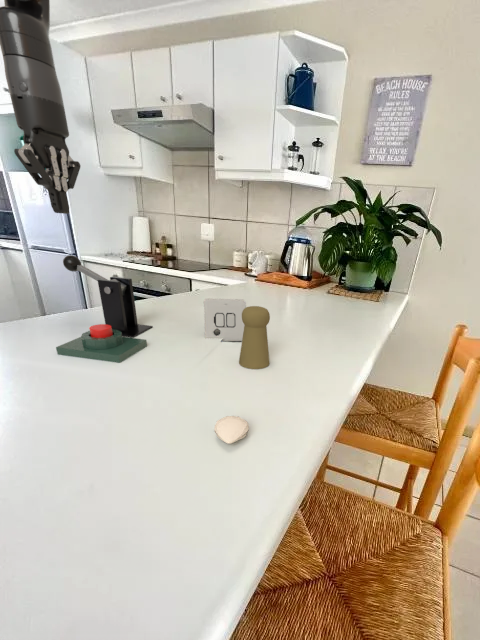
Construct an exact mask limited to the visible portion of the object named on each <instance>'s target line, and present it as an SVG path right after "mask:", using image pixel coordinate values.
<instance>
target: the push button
mask: <svg viewBox="0 0 480 640" xmlns="http://www.w3.org/2000/svg"><path fill="white" fill-rule="evenodd" d="M88 329H89V331H90V334H91V337H94V338H105V337H110V336H112V335H113V332H112V327H111V326H110V325H106V324H105V323H101V324H93V325H91V326H89V328H88Z"/></svg>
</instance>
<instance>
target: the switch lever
mask: <svg viewBox="0 0 480 640" xmlns="http://www.w3.org/2000/svg"><path fill="white" fill-rule="evenodd" d="M62 263H63V267H64V268H65V269H66V270H67V271H69V272H73V273H75V272H80V273H82V274H84V275H86V276H87V277H89V278H91V279H92V280H95V282H98V280H100V279H102V280H108V278H106V277H104V276H102V275H100V274H98V273H96V271H95V272H94V271H93V270H92V269H90V268H87V267H86V266H84V265H83V264H82V262H81V260H80V258H78V257H77V256H76V255H70V254H69V255H66V256H64V258H63V260H62ZM111 281H118V280H116V279H112V280H111ZM120 283H121V282H120ZM126 286H127V285H125V284H123V283H121V290H122V296H123V295H124V294H125V290H126Z"/></svg>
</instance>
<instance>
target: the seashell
mask: <svg viewBox="0 0 480 640" xmlns="http://www.w3.org/2000/svg"><path fill="white" fill-rule="evenodd" d="M213 430H214V433H215V434H216V436H217V438H218V439H219V440H221V441H223V442H224V443H225V444H227V445H228V444H229V445H231V444H233V443H236V442H238V441H239V440H242V439H244V438H245V437H246V435H247V434H248V432H249V423H248V422H247V421H246V420H245V419H244V418H242V417H240V416H236V415H230V416H229V415H227V416H224V417H222V418H219V419H218V420H216V422H215V424H214V429H213Z"/></svg>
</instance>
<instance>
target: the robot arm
mask: <svg viewBox="0 0 480 640" xmlns="http://www.w3.org/2000/svg"><path fill="white" fill-rule="evenodd" d="M3 2H4V3H3V4H4V5H3V6H0V51H1V55H2V60H3V65H4V74H5V75H4V76H5V80H6V84H7V88H8V92H9V96H10V100H11V101H10V102H11V105H12V108H13V112H14V117H15V121H16V125H17V127H18V128H19V129H20V130H21V131H23V137H22V139H23V140H22V141H23V145H22V146H21V148H14V150H13V151H14V155H15V156H16V157H17V159H18V160H19V161H20V163H21V164H22V166H23V168H25V170H26V171H27V173H28V174H29V175H30V176H31V178H32V179H33V181H34V182H35V184H37V185H39V186H42V187H44V188H45V190H46V191H47V193H48V197H49V201H50V205H51V208H52V211H53V212H54V213H55V214H67V215H69V214H70V205H69V199H68V195H67V192H68V191H69V190H74V189H75V186H76V182H77V179H78V176H79V173H80V170H81V163H80V162H79V161H77V160H74V159H73V157H71V155H70V150H69V147H68V145H67V142H66V139H67V138H69V136H70V132H69V126H68V121H67V115H66V110H65V105H64V99H63V93H62V88H61V85H60V82H59V78H58V75H57V71H56V65H55V64H56V63H55V60H54V54H53V49H52V44H51V41H50V27H51V9H50V8H51V7H50V6H51V3H50V2H51V1H50V0H3Z"/></svg>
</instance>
